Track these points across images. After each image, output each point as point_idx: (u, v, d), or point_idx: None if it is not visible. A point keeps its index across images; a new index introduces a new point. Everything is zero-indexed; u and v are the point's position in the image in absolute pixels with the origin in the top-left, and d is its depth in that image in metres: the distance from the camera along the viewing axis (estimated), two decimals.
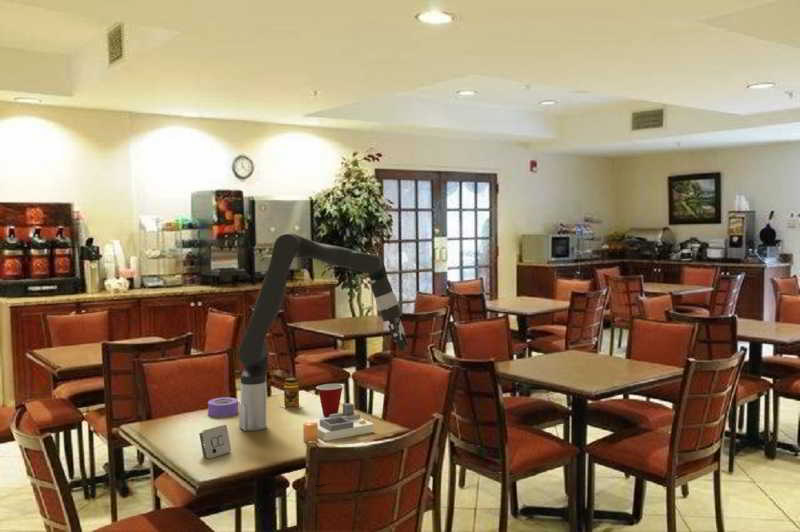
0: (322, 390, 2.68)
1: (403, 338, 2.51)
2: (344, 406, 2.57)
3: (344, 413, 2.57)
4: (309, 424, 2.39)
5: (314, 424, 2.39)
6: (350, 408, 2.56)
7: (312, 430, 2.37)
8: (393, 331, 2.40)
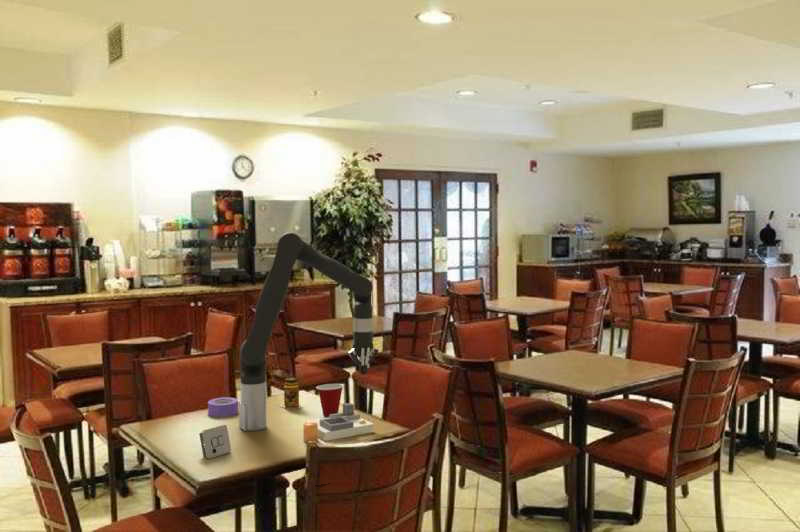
0: (322, 390, 2.68)
1: None
2: (344, 406, 2.57)
3: (344, 413, 2.57)
4: (309, 424, 2.39)
5: (314, 424, 2.39)
6: (350, 408, 2.56)
7: (312, 430, 2.37)
8: (352, 358, 2.58)
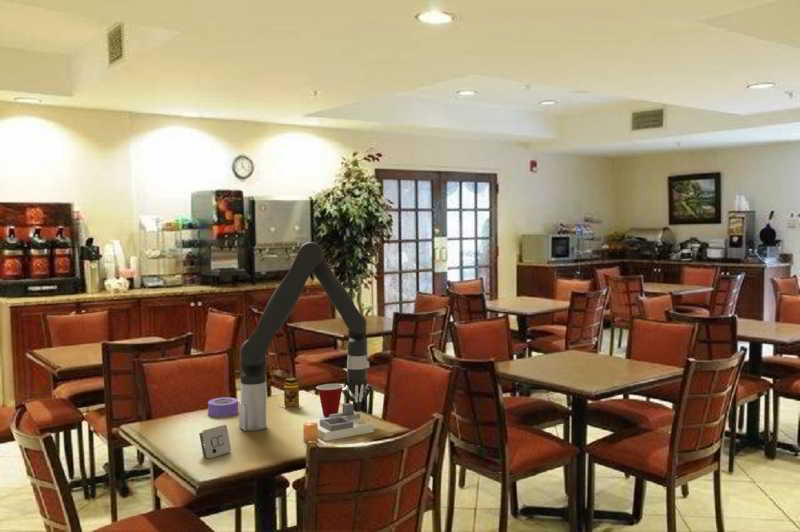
0: (322, 390, 2.68)
1: None
2: (344, 406, 2.57)
3: (344, 413, 2.57)
4: (309, 424, 2.39)
5: (314, 424, 2.39)
6: (349, 408, 2.56)
7: (312, 430, 2.37)
8: (345, 395, 2.57)
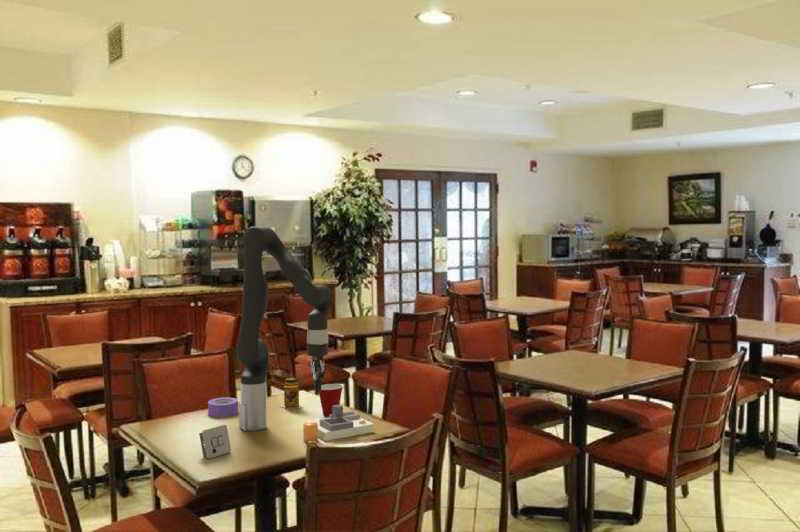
0: (322, 390, 2.68)
1: None
2: (333, 408, 2.55)
3: (333, 415, 2.55)
4: (309, 424, 2.39)
5: (314, 424, 2.39)
6: (339, 410, 2.54)
7: (312, 430, 2.37)
8: (321, 373, 2.38)
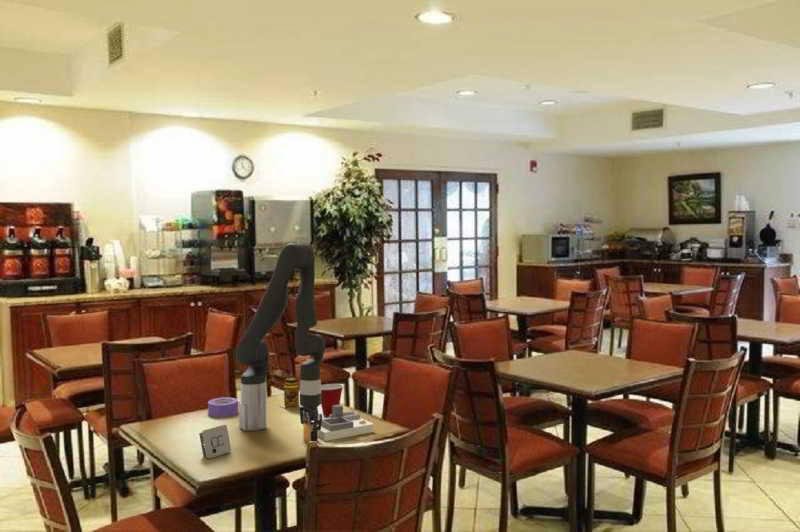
0: (322, 390, 2.68)
1: None
2: (333, 408, 2.55)
3: (333, 415, 2.55)
4: None
5: None
6: (339, 410, 2.54)
7: None
8: (317, 422, 2.34)
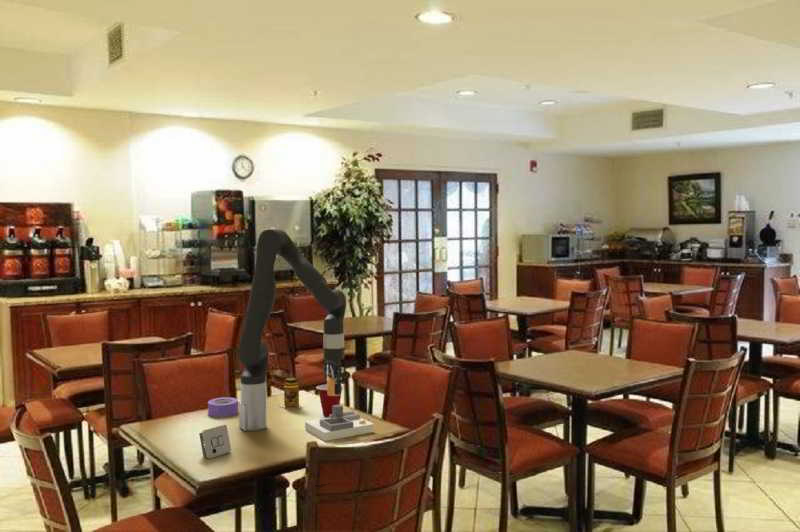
0: (322, 390, 2.68)
1: None
2: (333, 408, 2.55)
3: (333, 415, 2.55)
4: (332, 377, 2.45)
5: None
6: (339, 410, 2.54)
7: None
8: (341, 375, 2.39)
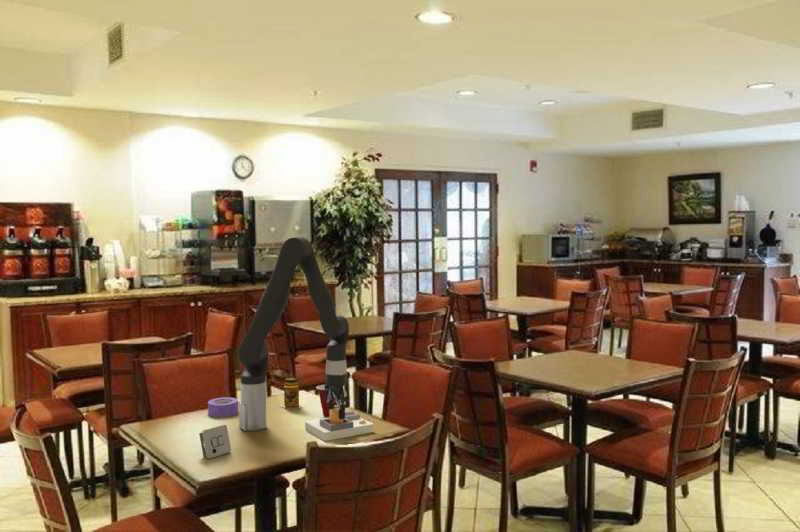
0: (322, 390, 2.68)
1: (332, 405, 2.50)
2: None
3: None
4: (335, 410, 2.46)
5: None
6: None
7: (338, 416, 2.44)
8: (345, 399, 2.40)
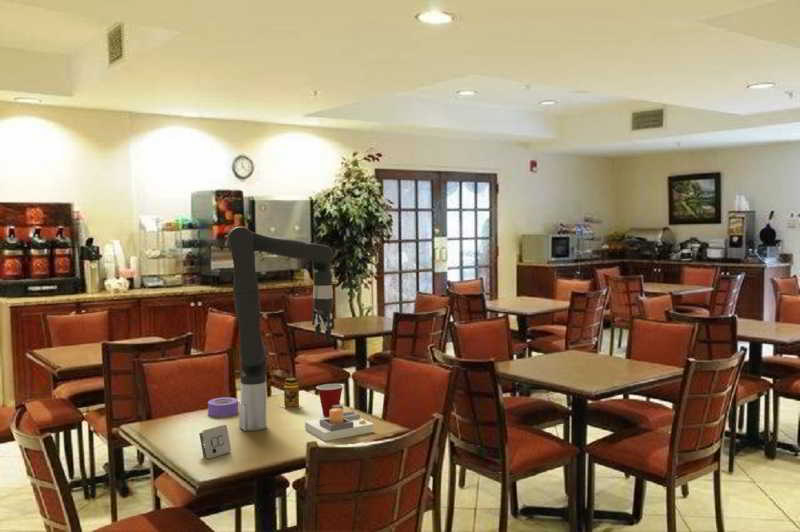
0: (322, 390, 2.68)
1: (319, 329, 2.66)
2: (333, 408, 2.55)
3: None
4: (335, 410, 2.46)
5: (340, 410, 2.46)
6: None
7: (338, 416, 2.44)
8: (330, 321, 2.56)
